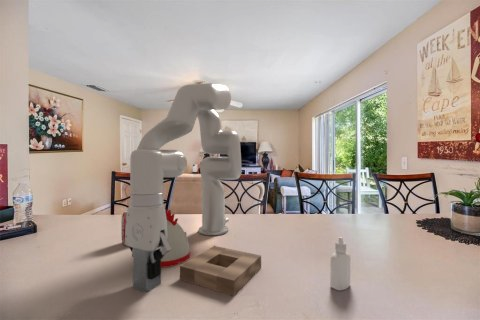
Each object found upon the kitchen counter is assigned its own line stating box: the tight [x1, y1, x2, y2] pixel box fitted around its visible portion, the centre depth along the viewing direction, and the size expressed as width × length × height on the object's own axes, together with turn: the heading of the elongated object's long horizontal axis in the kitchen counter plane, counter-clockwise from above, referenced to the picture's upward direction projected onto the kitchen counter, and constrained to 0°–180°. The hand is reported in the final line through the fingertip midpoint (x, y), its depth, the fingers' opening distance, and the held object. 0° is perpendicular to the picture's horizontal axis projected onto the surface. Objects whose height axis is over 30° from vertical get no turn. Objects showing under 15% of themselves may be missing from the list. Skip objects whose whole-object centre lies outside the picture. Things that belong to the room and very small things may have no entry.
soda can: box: [121, 209, 128, 247], centre depth 88 cm, size 7×7×12 cm
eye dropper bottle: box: [329, 236, 351, 291], centre depth 60 cm, size 4×6×12 cm
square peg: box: [132, 248, 162, 293], centre depth 59 cm, size 4×4×10 cm
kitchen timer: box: [161, 208, 191, 268], centre depth 76 cm, size 14×14×15 cm
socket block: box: [179, 245, 262, 297], centre depth 66 cm, size 16×16×4 cm
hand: (147, 273), depth 59 cm, fingers closed on square peg, 4 cm apart
